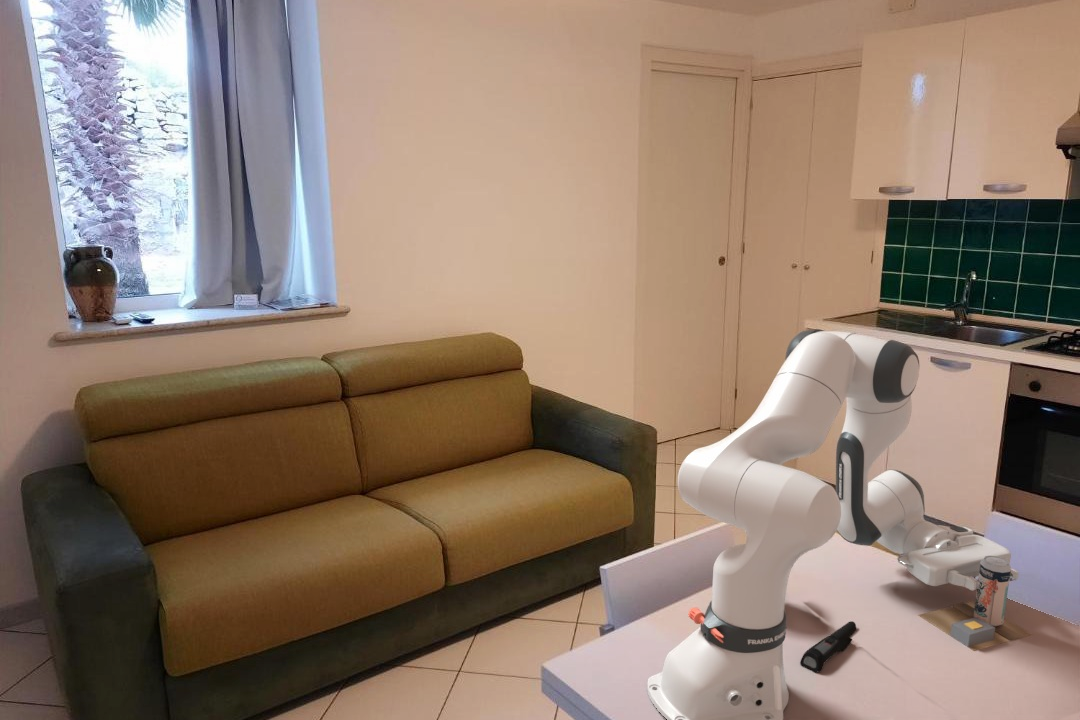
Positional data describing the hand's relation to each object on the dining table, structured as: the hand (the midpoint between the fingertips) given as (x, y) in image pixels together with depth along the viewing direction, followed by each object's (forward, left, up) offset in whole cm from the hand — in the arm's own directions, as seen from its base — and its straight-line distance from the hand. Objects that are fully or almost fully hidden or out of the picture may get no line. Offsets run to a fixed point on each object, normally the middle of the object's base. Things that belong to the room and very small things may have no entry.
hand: (996, 581), depth 135 cm
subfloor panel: (-3, +1, -10) cm, 10 cm away
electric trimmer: (-32, +5, -10) cm, 34 cm away
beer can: (0, +1, -8) cm, 8 cm away
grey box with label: (-7, -2, -8) cm, 11 cm away
